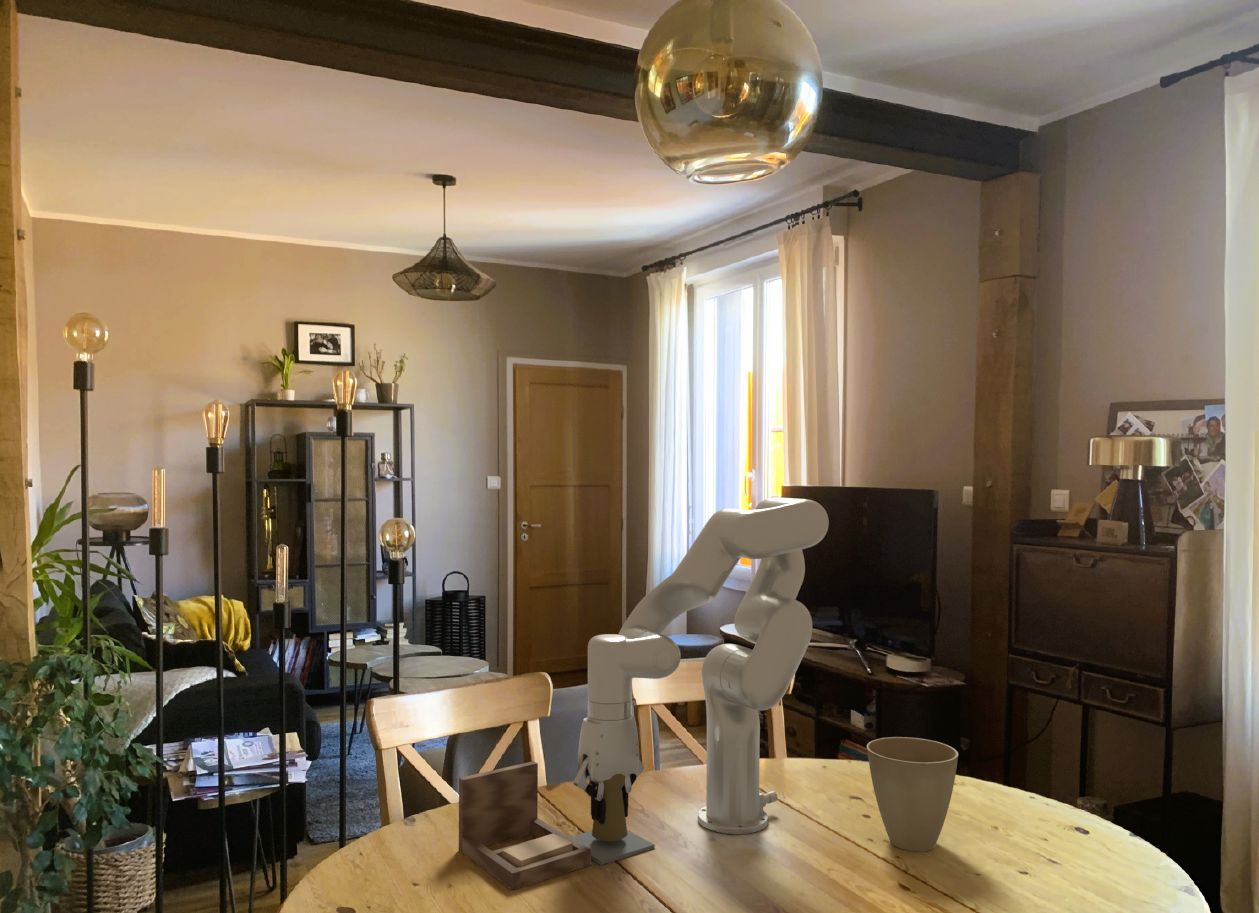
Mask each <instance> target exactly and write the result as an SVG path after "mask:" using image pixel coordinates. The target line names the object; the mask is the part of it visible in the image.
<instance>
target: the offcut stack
mask: <svg viewBox="0 0 1259 913" xmlns="http://www.w3.org/2000/svg"><path fill="white" fill-rule="evenodd" d="M530 840H531V841H529V840H527V841H528V842H526V841H524V842H525V843H522V842H521V843H522V844H519V843H518V844H519V845H516V846H513V847H510V848H507V849H504V850H502V858H503V859H504V860H505V861H507V862H508V863H510V864H511V865H513V866H514V867H516V868H519V867H522V866H525V865H529V864H532V863H535V862H538V861H542V860H545V859H548V858H552V857H555V856H558V855H562V854H565V853H568V852H572V851H573V843H571V842H569V841H567V840H565V839H563V838H561V837H559V836H557V835H555V834H550V835H547V836H544V837H540V838H537V839H536V838H534V840H533V839H530Z"/></svg>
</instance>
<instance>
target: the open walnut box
mask: <svg viewBox="0 0 1259 913" xmlns="http://www.w3.org/2000/svg"><path fill="white" fill-rule="evenodd" d="M538 770H539V765H538V762H536V761H534V760H533V761H529V762H525V763H524V762H523V763H520V764H515V765H510V766H505V767H502V768H498V769H493V770H489V771H484V772H480V773H474V774H471V775H467V776H466V775H465V776H462V777H458V851H459V852H460V853H461V854H463V856H466V857H467V858H468V859H469V860H470V861H472V862H473V863H475V864H476V865H478V866H479V867H480V868H482V869H483V870H484V871H486V872H487V873H488V874H490V875H491V876H493V877H494V878H495V879H497V880H498V881H499V882H500V883H502V884H503V885H505V886H506V887H508V888H509V889H510V890H511V891H514V890H517V889H520V888H523V887H526V886H529V885H533V884H535V883H539V882H543V881H545V880H548V879H551V878H555V877H558V876H561V875H564V874H567V873H571V872H574V871H576V870H581V869H583V868H587V867H591V865H592V859H591V849H589V848H588V847H586V846H584V845H583V844H581V843H579V842H577V841H576V840H574V839H572V838H571V837H572V836H569V835H568V834H565V833H564V832H562V831H560V830H559V829H557V828H555V827H554V826H552V825H551V824H548V823H547V822H545V821H544V820H541V819H540V818H539V817H538V815H539V814H538V813H539V812H538V811H539V810H538V807H539V806H538V798H539V797H538V796H539V795H538V793H539V791H538V790H539V788H538V787H539V785H538V784H539V781H538V780H539V779H538V778H539V776H538V775H539V774H538V773H539V771H538ZM550 834H555V835H557V836H559V837H561V838H563V839H565V840H567V841H569V842H571V843H573V851H572V852H568V853H565V854H562V855H558V856H555V857H552V858H548V859H545V860H542V861H538V862H535V863H532V864H529V865H525V866H522V867H519V868H516V867H514V866H513V865H511V864H510V863H508V862H507V861H505V860H504V859H503V858H502V850H504V849H507V848H510V847H513V846H516V845H519V844H522V843H525V842H528V841H531V840H534V839H537V838H540V837H544V836H547V835H550ZM529 835H531V836H532V837H534V839H529V840H527V841H522V842H519V843H516V844H512V845H508V846H505V847H502V848H499V849H495V850H491V849H490V848H488V847H489V846H493V845H497V844H501V843H505V842H507V841H511V840H516V839H519V838H522V837H526V836H529Z"/></svg>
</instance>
